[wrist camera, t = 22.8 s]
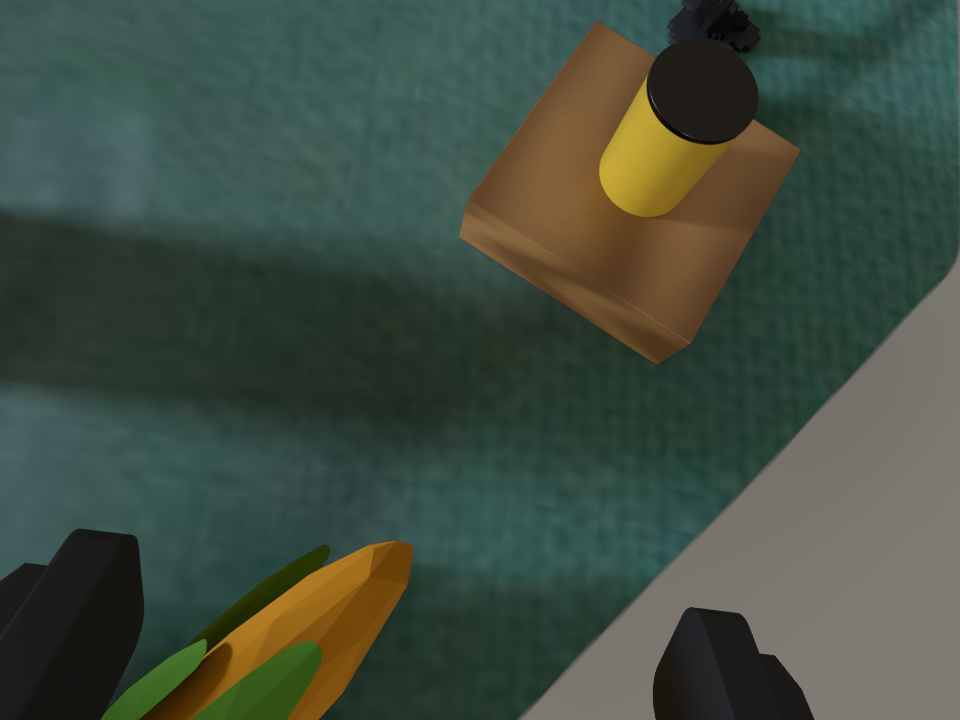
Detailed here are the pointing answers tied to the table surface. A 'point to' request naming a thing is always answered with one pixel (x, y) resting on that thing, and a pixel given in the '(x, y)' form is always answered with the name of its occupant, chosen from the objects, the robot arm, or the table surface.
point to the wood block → (603, 225)
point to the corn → (279, 643)
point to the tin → (677, 126)
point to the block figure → (714, 24)
